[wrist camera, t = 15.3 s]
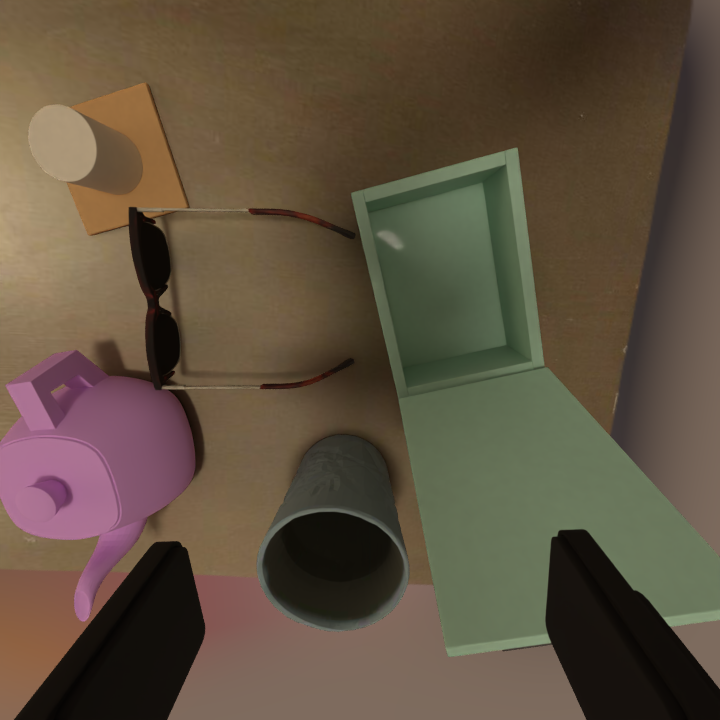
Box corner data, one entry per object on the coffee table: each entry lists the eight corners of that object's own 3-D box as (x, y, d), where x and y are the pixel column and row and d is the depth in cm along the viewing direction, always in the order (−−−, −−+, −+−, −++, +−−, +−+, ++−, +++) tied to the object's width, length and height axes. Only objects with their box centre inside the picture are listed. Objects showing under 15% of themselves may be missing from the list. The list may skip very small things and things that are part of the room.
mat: (43, 118, 29) (39, 116, 28) (148, 84, 28) (145, 82, 27) (91, 235, 31) (87, 235, 31) (190, 207, 30) (187, 207, 30)
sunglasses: (160, 213, 30) (123, 205, 25) (355, 216, 31) (355, 208, 26) (180, 373, 34) (151, 392, 29) (354, 374, 34) (354, 392, 29)
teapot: (102, 529, 39) (-2, 631, 28) (40, 345, 34) (-117, 385, 23) (224, 521, 38) (165, 624, 27) (179, 331, 33) (84, 365, 22)
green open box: (355, 206, 29) (350, 192, 24) (488, 170, 28) (517, 147, 23) (394, 375, 33) (398, 400, 27) (514, 349, 32) (545, 369, 26)
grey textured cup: (278, 445, 35) (230, 534, 24) (376, 411, 34) (377, 488, 22) (319, 529, 38) (294, 648, 26) (412, 500, 36) (430, 612, 25)
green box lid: (445, 649, 13) (461, 707, 16) (764, 605, 12) (724, 675, 15) (398, 398, 27) (411, 453, 29) (547, 366, 26) (547, 426, 28)
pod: (76, 139, 29) (15, 115, 24) (129, 123, 28) (78, 94, 23) (100, 201, 30) (47, 189, 25) (151, 186, 29) (107, 171, 25)
